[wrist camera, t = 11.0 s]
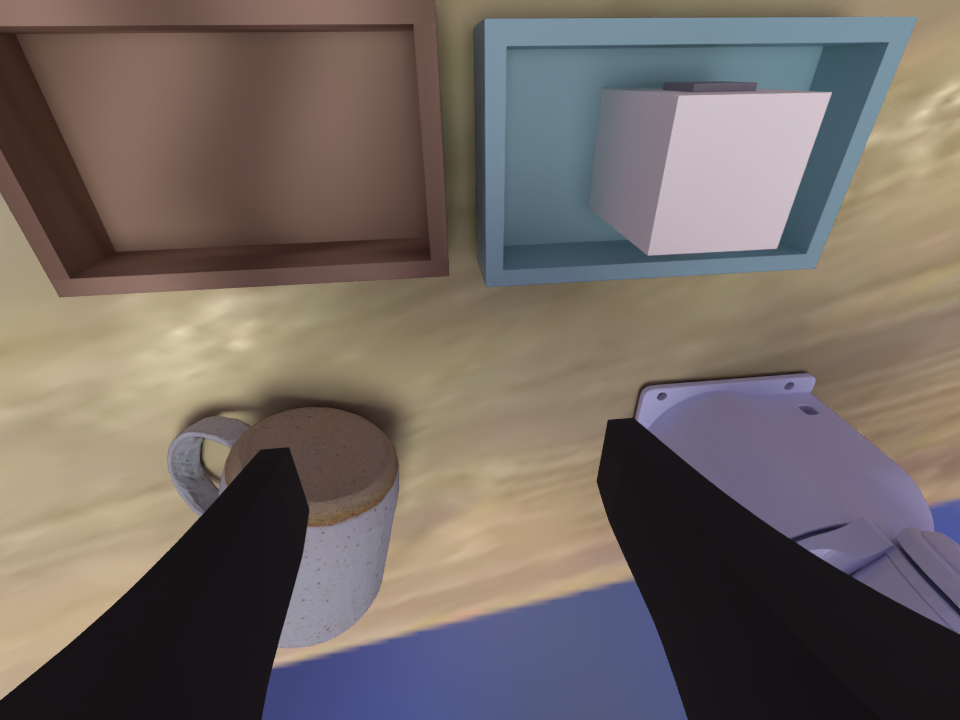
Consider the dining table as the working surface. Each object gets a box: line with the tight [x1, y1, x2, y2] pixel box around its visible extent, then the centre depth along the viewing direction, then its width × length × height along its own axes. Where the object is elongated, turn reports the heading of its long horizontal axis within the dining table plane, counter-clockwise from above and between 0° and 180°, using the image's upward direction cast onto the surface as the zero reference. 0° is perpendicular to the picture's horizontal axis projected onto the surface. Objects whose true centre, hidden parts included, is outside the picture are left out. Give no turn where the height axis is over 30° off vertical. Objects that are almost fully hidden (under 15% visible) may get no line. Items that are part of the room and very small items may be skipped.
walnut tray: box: [0, 0, 449, 297], centre depth 14 cm, size 13×8×3 cm, turn 91°
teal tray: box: [474, 17, 918, 287], centre depth 16 cm, size 13×8×3 cm, turn 91°
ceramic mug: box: [168, 407, 399, 648], centre depth 20 cm, size 11×8×8 cm
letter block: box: [588, 81, 832, 256], centre depth 14 cm, size 4×4×6 cm
